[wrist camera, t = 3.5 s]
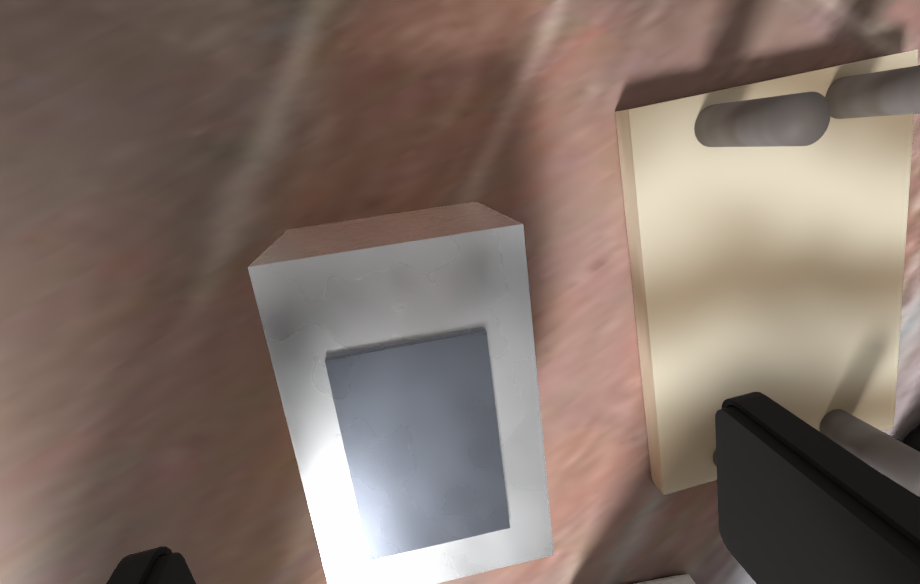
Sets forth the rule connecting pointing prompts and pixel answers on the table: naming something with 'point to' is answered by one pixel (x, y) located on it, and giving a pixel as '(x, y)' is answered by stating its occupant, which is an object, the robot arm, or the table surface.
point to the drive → (410, 391)
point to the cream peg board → (772, 258)
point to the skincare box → (672, 580)
